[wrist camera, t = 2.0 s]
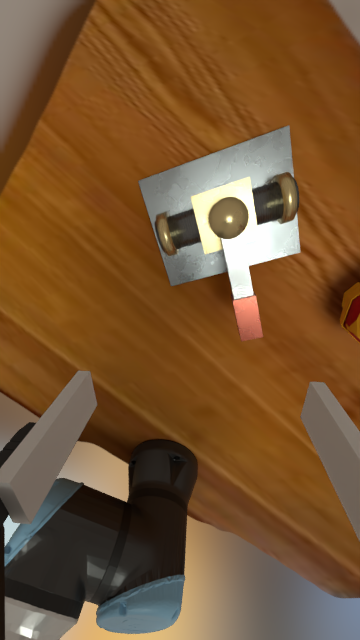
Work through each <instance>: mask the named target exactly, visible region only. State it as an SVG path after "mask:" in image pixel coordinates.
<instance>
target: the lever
mask: <svg viewBox="0 0 360 640" xmlns="http://www.w3.org/2000/svg"><path fill="white" fill-rule="evenodd" d="M208 220H209V225H210V228H211V230H212V231H213V233H214V234H215V235H216V236H218V237H220V238H221V243H222V248H223V252H224V257H225V262H226V266H227V271H228V276H229V280H230V285H231V290H232V294H231V299H232V303H233V308H234V313H235V317H236V322H237V327H238V331H239V335H240V338H241V341H245V340H250V339H255V338H260V337H263V334H262V328H261V322H260V317H259V311H258V305H257V299H256V295H255V294H254V292H253V290H252V284H251V278H250V273H249V267H248V261H247V256H246V250H245V244H244V239H243V233H242V232H243V231H244V230H245V228H246V226H247V224H248V220H249V212H248V209H247V206H246V205H245V203H244V202H243V201H242V200H240V199H239V198H236V197H225V198H223V199H221V200H219V201H218V202H217V203H216V204H215V205H214V206H213V207H212V208H211V210H210V213H209V218H208Z"/></svg>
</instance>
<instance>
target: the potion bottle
mask: <svg viewBox="0 0 360 640" xmlns="http://www.w3.org/2000/svg"><path fill="white" fill-rule="evenodd" d="M341 306H342V307H343V310H342V314H341V317H340V320H339V321H340V324H341V326H342V327H343V328H344V329H345V330H346V331H347V332H348V333H349V334H350V335H351V336H352V337H353V338H354V339H355V340H356V341H357V342H358V343H359V344H360V282H357V283H356V284H355V285H353V286H352V287H351V288H350V289H348V290H347V291H346V292H344V296H343V301H342V305H341Z"/></svg>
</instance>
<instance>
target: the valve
mask: <svg viewBox="0 0 360 640" xmlns="http://www.w3.org/2000/svg"><path fill="white" fill-rule="evenodd" d="M138 182H139V185H140V188H141V192H142V195H143V198H144V201H145V204H146V207H147V211H148V214H149V217H150V220H151V223H152V227H153V230H154V233H155V236H156V239H157V242H158V246H159V249H160V252H161V255H162V258H163V262H164V265H165V268H166V271H167V274H168V277H169V281H170V284H171V286H174V285H178V284H182V283H185V282H189V281H193V280H197V279H201V278H204V277H208V276H212V275H216V274H220V273H223V272H227V266H226V262H225V257H224V252H223V248H222V243H221V238H220V237H218V236H216V235H215V234H214V233H213V231H212V230H211V228H210V225H209V220H208V218H209V213H210V210H211V208H212V207H213V206H214V205H215V204H216V203H217V202H218V201H219V200H221V199H223V198H225V197H236V198H239V199H240V200H242V201H243V202H244V203H245V205H246V206H247V209H248V212H249V220H248V224H247V226H246V228H245V230H244V231H243V232H242V233H243V239H244V244H245V250H246V256H247V261H248V266H250V265H254V264H258V263H261V262H265V261H269V260H273V259H276V258H280V257H284V256H288V255H292V254H295V253H299V252H300V243H299V231H298V220H297V211H298V207H299V191H298V186H297V183H296V181H295V179H294V175H293V164H292V152H291V141H290V130H289V126H286V127H284V128H281V129H278V130H275V131H273V132H270V133H267V134H265V135H262V136H259V137H256V138H254V139H251V140H248V141H246V142H243V143H240V144H237V145H235V146H232V147H229V148H227V149H224V150H221V151H218V152H216V153H213V154H210V155H208V156H205V157H202V158H199V159H197V160H194V161H191V162H189V163H186V164H183V165H180V166H178V167H175V168H172V169H170V170H167V171H164V172H161V173H159V174H156V175H153V176H151V177H148V178H145V179H142V180H140V181H138Z"/></svg>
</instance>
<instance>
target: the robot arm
mask: <svg viewBox="0 0 360 640" xmlns="http://www.w3.org/2000/svg"><path fill="white" fill-rule="evenodd" d="M96 406H97V401H96V397H95V392H94V387H93V383H92V378H91V373H90V371H78V372H77V373H76V374H75V376H74V377H73V378H72V379H71V381H70V382H69V383H68V384H67V386H66V387H65V388H64V389H63V391H62V392H61V393H60V394H59V396H58V397H57V398H56V399H55V401H54V402H53V403H52V404H51V406H50V407H49V408H48V409H47V411H46V412H45V413H44V414H43V416H42V417H41V418H40V419H39V421H38V422H37V423H31V422H29V423H28V424H27V425H25V426H24V427H23V428H21V429H20V430H19V431H18V432H17V433H16V434H15V435H14V436H13V437H12V439H11V440H10V442H8V443H7V444H6V446H5V447H4V448H3V450H2V451H0V640H59V639H60V638H61V637H62V636H63V635H64V634H65V633H66V632H67V631H68V630H69V629H71V628H72V627H73V626H74V625H75V624H76V623H77V621H78V618H79V616H80V613H81V610H82V607H83V604H84V602H85V601H87V602H91V603H94V604H97V605H98V606H99V607H98V608H97V612H96V615H97V618H96V622H97V625H98V626H99V627H100V628H104V629H105V630H107V631H110V632H115V633H116V632H117V633H127V634H140V633H150V632H155V631H160V630H163V629H166V628H168V627H170V626H171V625H173V624H174V623H175V621H176V620H177V619H178V616H179V614H180V611H181V604H182V595H183V585H184V581H185V576H184V568H185V547H186V526H187V507H188V503H189V500H190V497H191V494H192V491H193V488H194V485H195V483H196V480H197V469H198V464H197V460H196V458H195V456H194V455H193V453H192V452H191V451H190V450H188V449H187V448H186V447H184V446H182V445H180V444H178V443H175V442H172V441H167V440H151V441H147V442H144V443H142V444H140V445H138V446H137V447H136V448H135V449H134V450H133V452H132V455H131V458H130V462H129V497H128V501H127V502H125V501H122V500H120V499H117V498H115V497H112V496H110V495H107V494H105V493H102V492H100V491H98V490H95V489H93V488H90V487H88V486H85V485H84V483H77V482H74V481H71V480H68V479H65V478H59V479H56V478H57V476H58V474H59V472H60V471H61V469H62V467H63V465H64V463H65V462H66V460H67V458H68V456H69V455H70V453H71V451H72V449H73V447H74V446H75V444H76V442H77V440H78V438H79V437H80V435H81V433H82V431H83V429H84V428H85V426H86V424H87V422H88V420H89V419H90V417H91V415H92V413H93V411H94V410H95V408H96ZM301 419H302V421H303V424H304V426H305V428H306V430H307V432H308V434H309V436H310V438H311V440H312V442H313V445H314V447H315V449H316V451H317V453H318V455H319V457H320V459H321V461H322V463H323V465H324V468H325V470H326V472H327V474H328V476H329V478H330V480H331V482H332V484H333V486H334V488H335V491H336V493H337V495H338V497H339V499H340V501H341V503H342V505H343V507H344V509H345V512H346V514H347V516H348V518H349V520H350V522H351V524H352V526H353V528H354V530H355V532H356V535H357V537H358V539H359V541H360V432H359V430H358V429H357V427H356V426H355V425H354V423H353V422H352V420H351V419H350V418H349V416H348V415H347V414H346V412H345V411H344V409H343V408H342V407H341V405H340V404H339V402H338V401H337V400H336V398H335V397H334V395H333V394H332V393H331V391H330V390H329V388H328V387H327V386H326V384H325V383H324V382H310V384H309V388H308V391H307V395H306V399H305V402H304V406H303V410H302V413H301ZM8 515H9V516H10V518H11V519H12V521H13V522H15V523H20V525H19V527H18V528H17V529H16V531H15V532H14V534H13V535H12V537H11V538H10V540H9V542H8V543H7V545H6V546H5V545H4V526H3V523H4V521H5V520H6V518H7V517H8ZM4 546H5V547H4Z"/></svg>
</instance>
